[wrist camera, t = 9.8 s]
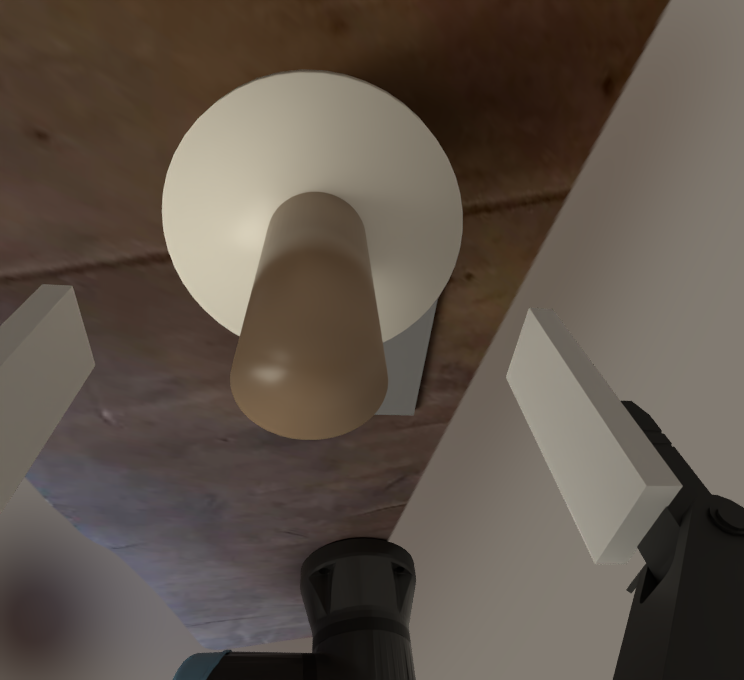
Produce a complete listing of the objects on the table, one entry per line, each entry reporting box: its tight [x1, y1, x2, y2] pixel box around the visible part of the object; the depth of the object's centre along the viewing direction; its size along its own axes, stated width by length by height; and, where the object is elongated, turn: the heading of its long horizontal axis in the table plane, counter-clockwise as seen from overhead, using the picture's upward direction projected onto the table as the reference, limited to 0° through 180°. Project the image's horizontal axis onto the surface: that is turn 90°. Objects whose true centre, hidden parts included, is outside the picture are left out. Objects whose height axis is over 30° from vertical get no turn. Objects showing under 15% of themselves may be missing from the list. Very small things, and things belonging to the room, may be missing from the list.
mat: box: [374, 298, 438, 415], centre depth 42 cm, size 17×16×1 cm
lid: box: [162, 70, 463, 440], centre depth 16 cm, size 12×12×10 cm
